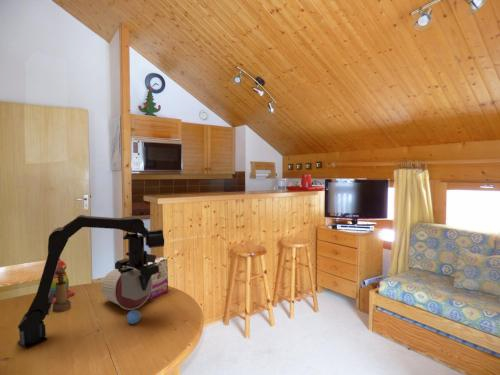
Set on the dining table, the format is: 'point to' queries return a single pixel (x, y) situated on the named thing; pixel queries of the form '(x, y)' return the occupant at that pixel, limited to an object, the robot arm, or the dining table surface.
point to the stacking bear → (55, 280)
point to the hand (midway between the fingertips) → (137, 288)
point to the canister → (119, 292)
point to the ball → (133, 316)
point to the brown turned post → (61, 293)
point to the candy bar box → (159, 278)
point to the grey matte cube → (133, 285)
